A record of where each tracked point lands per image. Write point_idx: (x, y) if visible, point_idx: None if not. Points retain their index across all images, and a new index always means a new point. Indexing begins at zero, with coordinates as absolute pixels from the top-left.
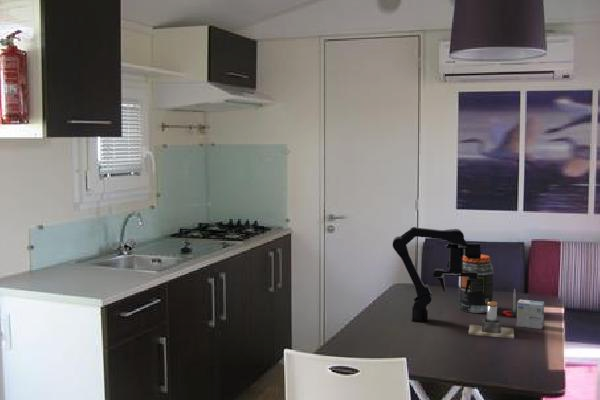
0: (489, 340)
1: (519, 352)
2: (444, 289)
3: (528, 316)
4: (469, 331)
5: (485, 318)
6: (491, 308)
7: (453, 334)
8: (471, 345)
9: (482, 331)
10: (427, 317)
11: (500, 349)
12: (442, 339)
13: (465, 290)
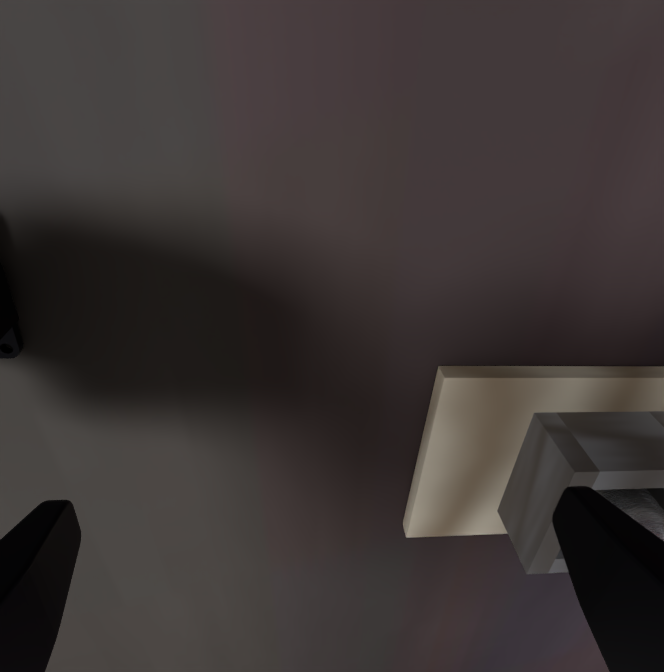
0: (506, 573)
1: (590, 653)
2: (46, 647)
3: None
4: (413, 525)
5: (594, 482)
6: None
7: (304, 545)
8: (395, 646)
9: (502, 513)
10: (2, 335)
11: (520, 649)
12: (246, 623)
13: (589, 625)
